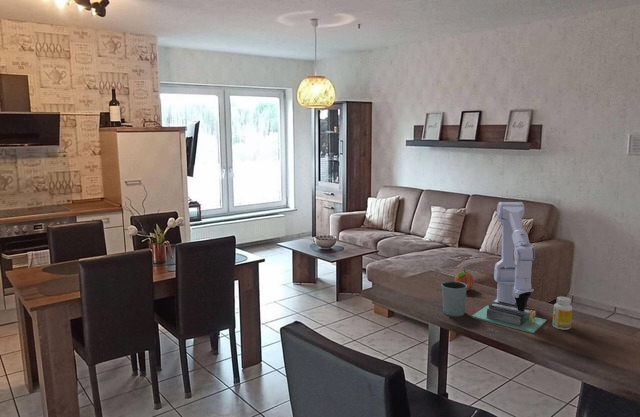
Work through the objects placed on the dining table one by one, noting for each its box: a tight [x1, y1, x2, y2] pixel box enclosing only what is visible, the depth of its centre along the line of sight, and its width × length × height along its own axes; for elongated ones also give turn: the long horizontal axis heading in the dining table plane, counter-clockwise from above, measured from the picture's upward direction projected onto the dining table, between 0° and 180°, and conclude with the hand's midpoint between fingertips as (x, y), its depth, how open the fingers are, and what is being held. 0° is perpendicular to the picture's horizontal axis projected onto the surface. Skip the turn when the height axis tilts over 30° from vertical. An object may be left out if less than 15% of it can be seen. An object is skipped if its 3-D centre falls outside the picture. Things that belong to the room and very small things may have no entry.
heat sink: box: [487, 301, 537, 327], centre depth 191 cm, size 12×17×5 cm
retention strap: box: [491, 303, 529, 315], centre depth 191 cm, size 14×2×1 cm, turn 48°
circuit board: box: [471, 305, 547, 334], centre depth 192 cm, size 15×24×1 cm, turn 48°
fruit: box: [454, 269, 475, 291], centre depth 226 cm, size 9×10×10 cm
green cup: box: [440, 280, 467, 317], centre depth 199 cm, size 10×10×12 cm
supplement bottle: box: [551, 295, 573, 331], centre depth 183 cm, size 6×6×11 cm
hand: (521, 310), depth 188 cm, fingers closed, pressing on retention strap
